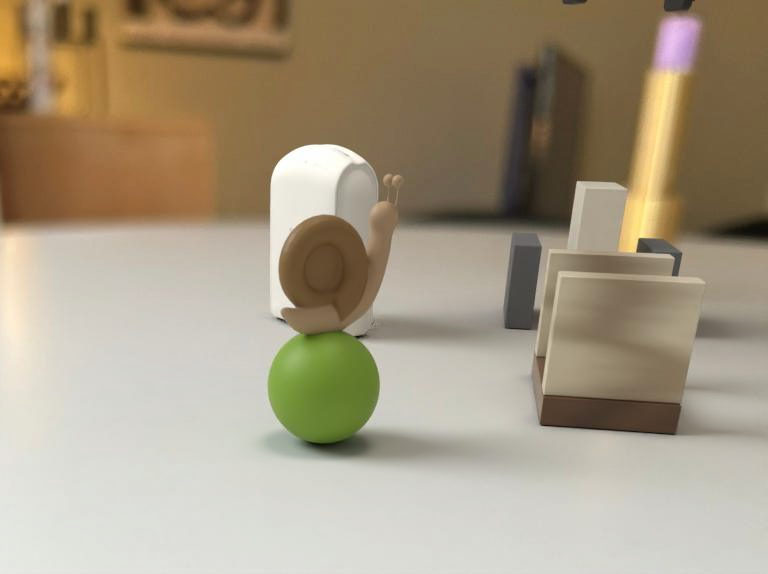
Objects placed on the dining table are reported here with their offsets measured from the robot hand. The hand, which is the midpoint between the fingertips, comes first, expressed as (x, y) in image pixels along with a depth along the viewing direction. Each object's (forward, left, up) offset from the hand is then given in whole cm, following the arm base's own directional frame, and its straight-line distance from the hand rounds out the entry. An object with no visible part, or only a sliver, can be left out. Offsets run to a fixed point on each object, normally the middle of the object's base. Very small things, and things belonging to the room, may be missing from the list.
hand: (626, 7), depth 69 cm
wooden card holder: (+1, +25, -21) cm, 33 cm away
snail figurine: (+15, +37, -22) cm, 45 cm away
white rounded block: (+20, +8, -22) cm, 30 cm away
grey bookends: (0, 0, -21) cm, 21 cm away
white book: (0, 0, -21) cm, 21 cm away
